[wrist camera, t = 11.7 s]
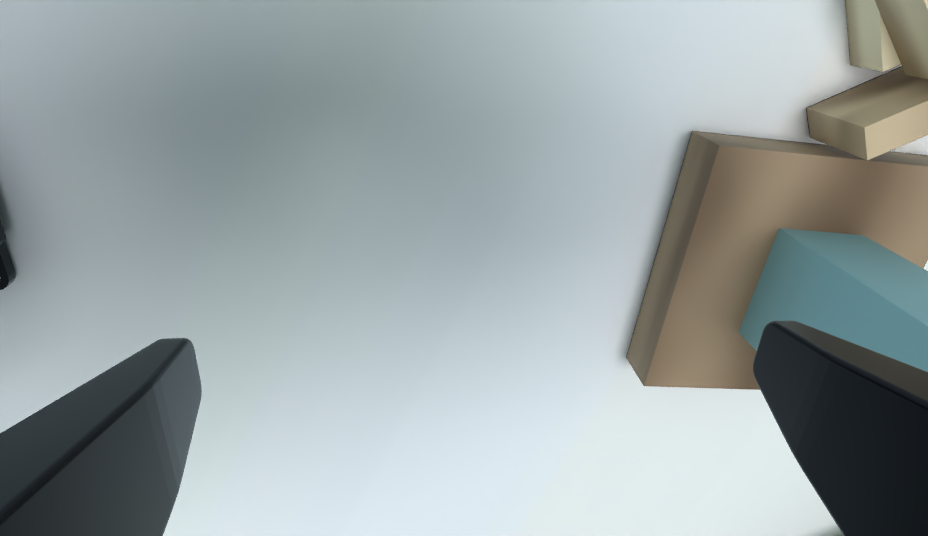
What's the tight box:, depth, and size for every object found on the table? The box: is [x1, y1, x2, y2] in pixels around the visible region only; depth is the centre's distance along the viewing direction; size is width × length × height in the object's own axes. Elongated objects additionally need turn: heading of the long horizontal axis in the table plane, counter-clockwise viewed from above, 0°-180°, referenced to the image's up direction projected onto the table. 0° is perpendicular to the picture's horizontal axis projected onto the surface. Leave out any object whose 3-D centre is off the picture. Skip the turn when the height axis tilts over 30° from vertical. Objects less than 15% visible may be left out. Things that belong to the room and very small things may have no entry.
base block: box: [626, 131, 928, 390], centre depth 24 cm, size 10×10×2 cm
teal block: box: [739, 228, 928, 372], centre depth 18 cm, size 4×4×10 cm
